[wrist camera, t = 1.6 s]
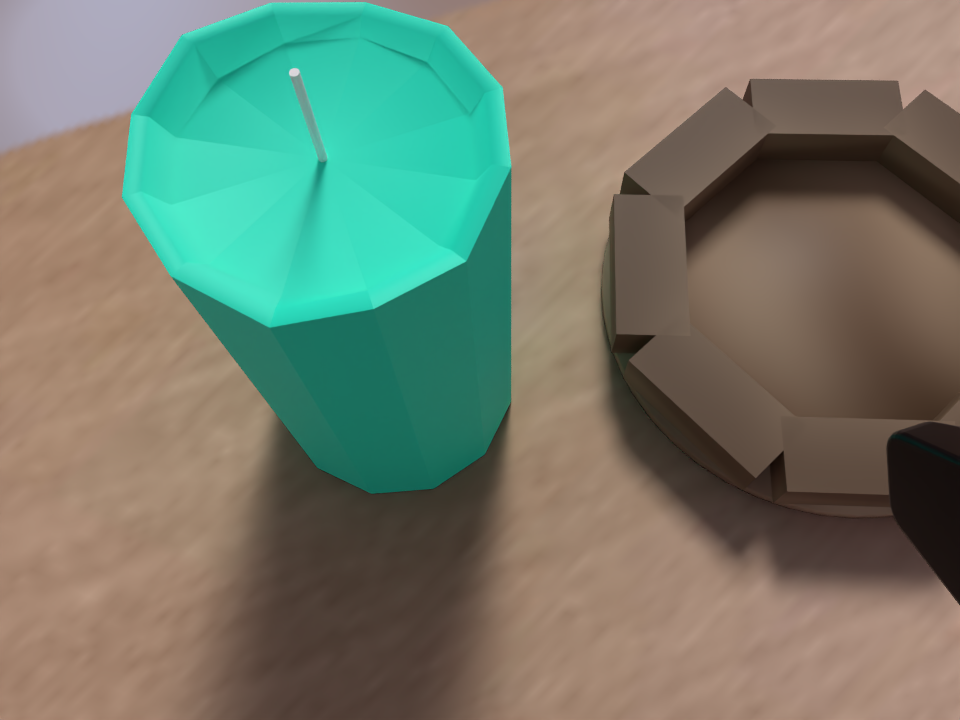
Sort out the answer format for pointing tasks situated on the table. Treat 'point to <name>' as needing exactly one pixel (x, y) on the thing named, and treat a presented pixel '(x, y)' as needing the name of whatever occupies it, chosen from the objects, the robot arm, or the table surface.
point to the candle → (340, 227)
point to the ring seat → (793, 286)
